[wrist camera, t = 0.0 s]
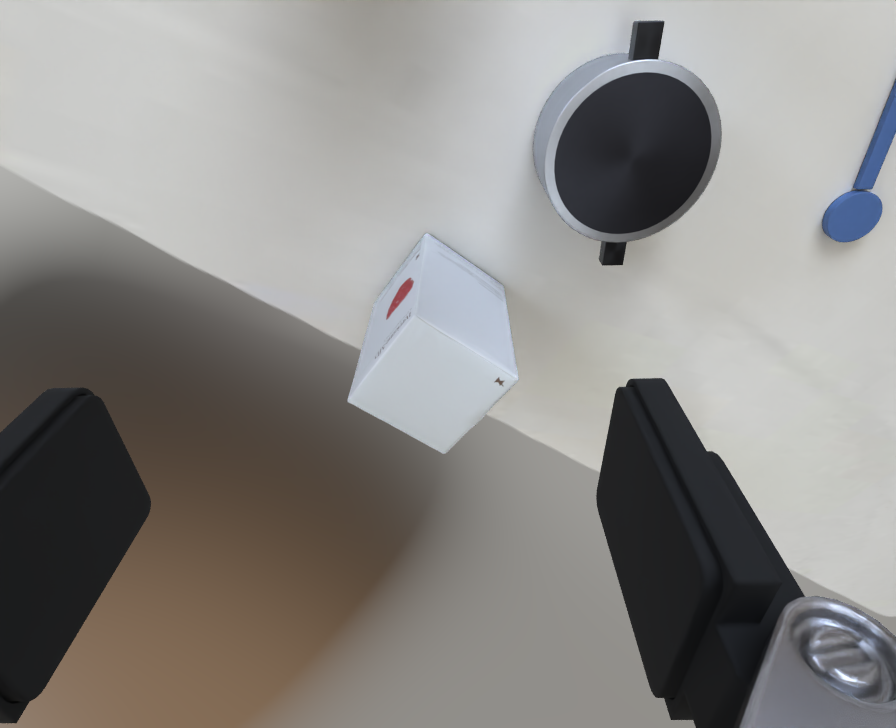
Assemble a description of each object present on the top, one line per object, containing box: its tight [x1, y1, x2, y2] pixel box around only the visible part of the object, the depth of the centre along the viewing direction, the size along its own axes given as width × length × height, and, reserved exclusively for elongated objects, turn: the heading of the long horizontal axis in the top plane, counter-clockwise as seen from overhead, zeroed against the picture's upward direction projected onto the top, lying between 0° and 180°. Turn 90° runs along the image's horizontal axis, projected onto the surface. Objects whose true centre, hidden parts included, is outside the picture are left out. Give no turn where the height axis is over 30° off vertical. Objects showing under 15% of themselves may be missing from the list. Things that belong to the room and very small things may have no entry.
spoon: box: [822, 81, 896, 242], centre depth 41 cm, size 16×4×1 cm, turn 1°
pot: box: [533, 21, 722, 265], centre depth 39 cm, size 16×12×6 cm
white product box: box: [348, 233, 519, 454], centre depth 43 cm, size 9×9×15 cm
